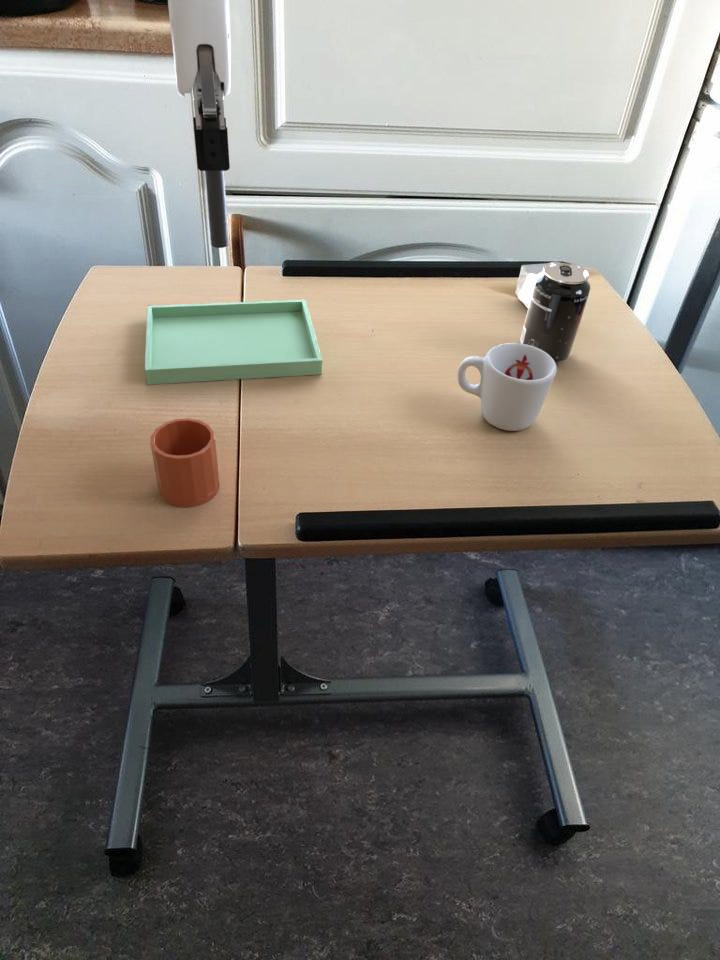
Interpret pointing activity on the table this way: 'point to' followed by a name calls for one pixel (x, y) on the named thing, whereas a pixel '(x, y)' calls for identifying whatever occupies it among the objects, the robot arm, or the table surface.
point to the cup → (510, 383)
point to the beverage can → (556, 309)
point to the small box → (527, 281)
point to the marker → (216, 208)
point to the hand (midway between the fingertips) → (213, 162)
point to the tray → (230, 341)
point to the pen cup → (185, 462)
